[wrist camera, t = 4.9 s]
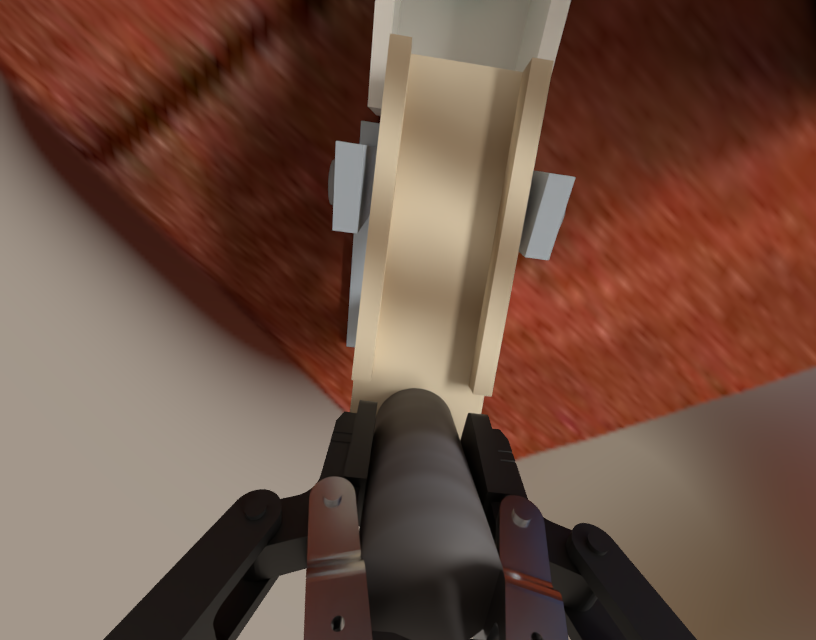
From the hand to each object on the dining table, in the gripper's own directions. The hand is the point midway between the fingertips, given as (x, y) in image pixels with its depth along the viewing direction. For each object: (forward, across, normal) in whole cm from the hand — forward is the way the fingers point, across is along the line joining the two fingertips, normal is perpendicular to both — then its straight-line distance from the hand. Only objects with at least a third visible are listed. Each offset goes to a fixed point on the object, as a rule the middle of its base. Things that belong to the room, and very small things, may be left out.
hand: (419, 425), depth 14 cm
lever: (+5, 0, -4) cm, 6 cm away
